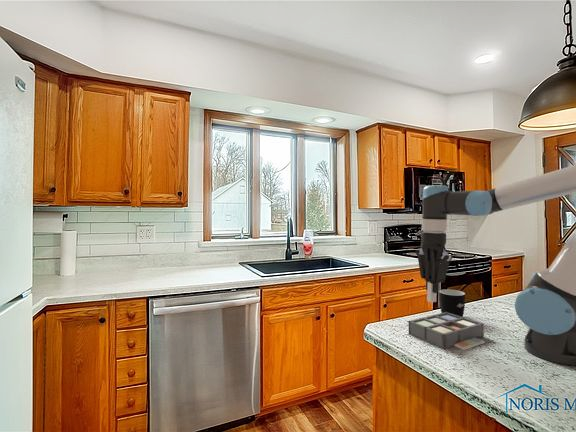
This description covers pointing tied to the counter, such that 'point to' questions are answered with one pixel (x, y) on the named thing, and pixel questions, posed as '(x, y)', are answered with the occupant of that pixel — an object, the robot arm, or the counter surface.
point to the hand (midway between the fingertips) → (431, 301)
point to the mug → (452, 302)
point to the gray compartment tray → (457, 338)
